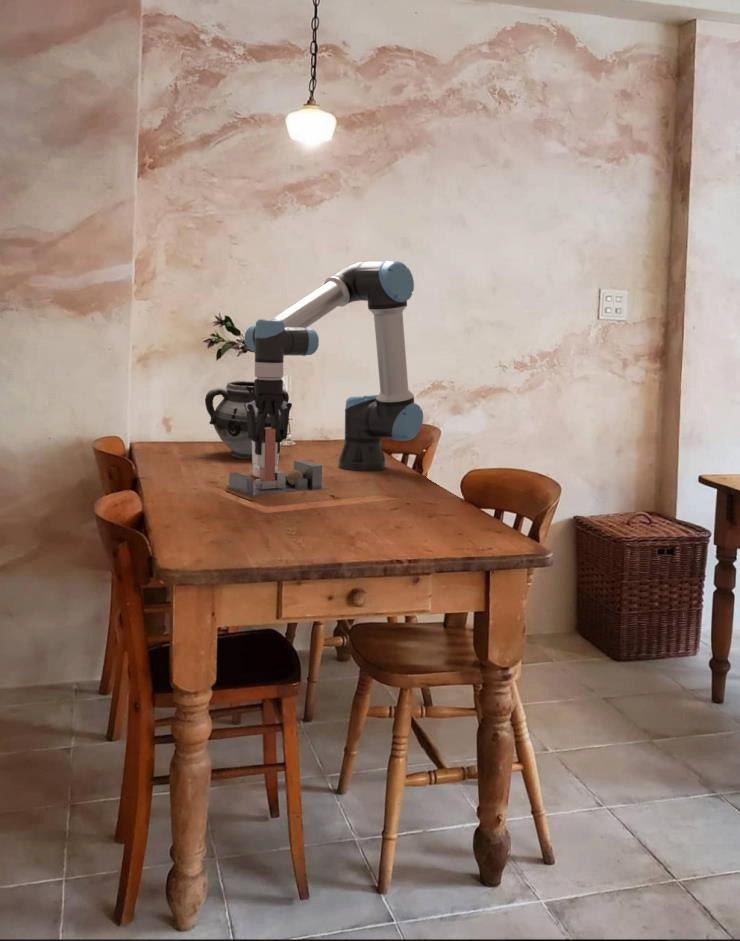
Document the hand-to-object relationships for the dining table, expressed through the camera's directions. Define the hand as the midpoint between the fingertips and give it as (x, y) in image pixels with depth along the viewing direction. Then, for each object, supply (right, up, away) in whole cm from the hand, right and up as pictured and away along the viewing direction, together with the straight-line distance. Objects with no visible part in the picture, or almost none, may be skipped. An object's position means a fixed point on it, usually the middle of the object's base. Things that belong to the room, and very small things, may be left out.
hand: (267, 466), depth 248 cm
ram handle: (+1, -6, +2) cm, 6 cm away
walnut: (+7, -5, +6) cm, 11 cm away
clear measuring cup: (-3, -4, +21) cm, 22 cm away
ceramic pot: (-14, +3, +62) cm, 63 cm away
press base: (+2, -7, +3) cm, 8 cm away
